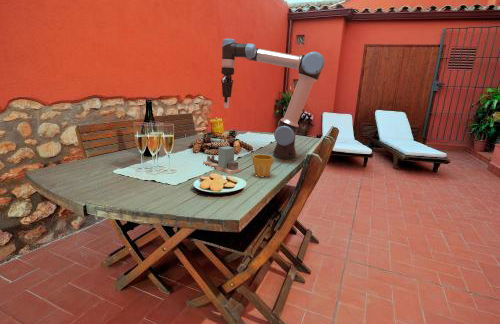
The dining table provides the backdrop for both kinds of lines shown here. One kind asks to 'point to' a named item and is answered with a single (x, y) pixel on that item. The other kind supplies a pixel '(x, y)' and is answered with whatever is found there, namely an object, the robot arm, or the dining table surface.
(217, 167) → the cord board
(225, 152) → the marker sleeve
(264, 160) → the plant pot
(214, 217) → the dining table surface
